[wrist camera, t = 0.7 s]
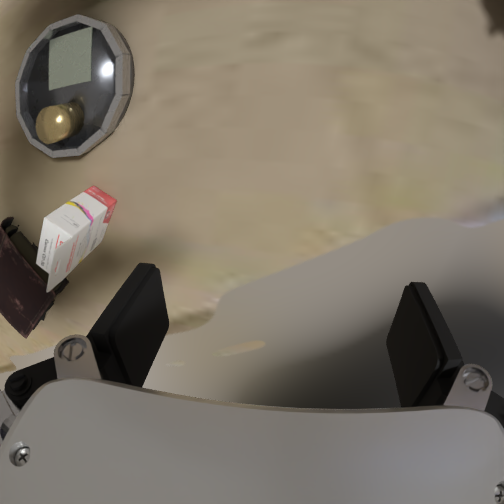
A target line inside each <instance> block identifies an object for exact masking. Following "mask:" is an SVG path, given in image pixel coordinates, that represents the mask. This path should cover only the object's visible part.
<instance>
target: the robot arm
mask: <svg viewBox="0 0 504 504" xmlns="http://www.w3.org/2000/svg"><path fill="white" fill-rule="evenodd" d="M168 328H169V319H168V314H167V308H166V303H165V298H164V292H163V287H162V281H161V275H160V270H159V269H158V268H156V267H155V265H154V264H148V263H139V264H138V265H137V267H136V268H135V269H134V271H133V272H132V273H131V274H130V276H129V277H128V278H127V280H126V281H125V282H124V284H123V285H122V287H121V288H120V289H119V291H118V292H117V293H116V295H115V296H114V297H113V299H112V300H111V302H110V303H109V304H108V306H107V307H106V309H105V310H104V311H103V313H102V314H101V316H100V317H99V319H98V320H97V321H96V323H95V324H94V326H93V327H92V329H91V330H90V332H89V333H88V335H87V336H86V337H85V336H82V335H70V336H68V337H65V338H64V339H62V340H61V341H59V343H58V344H57V345H56V347H55V349H54V357H53V358H50V359H47V360H45V361H42V362H40V363H37V364H34V365H31V366H29V367H26V368H24V369H21V370H18V371H16V372H14V373H13V374H12V375H10V376H9V378H8V379H7V381H6V383H5V390H4V391H1V390H0V504H504V398H502V397H501V396H499V395H498V394H496V393H494V392H493V391H491V389H492V379H491V377H490V375H489V373H488V372H487V371H486V370H485V369H484V368H482V367H481V366H478V365H476V364H467V365H464V363H463V361H462V356H461V354H460V352H459V350H458V347H457V345H456V343H455V341H454V339H453V336H452V334H451V333H450V330H449V328H448V326H447V324H446V322H445V320H444V318H443V316H442V314H441V312H440V310H439V308H438V306H437V304H436V302H435V300H434V298H433V296H432V294H431V293H430V291H429V289H428V287H427V285H426V284H425V283H423V282H411V283H410V284H409V286H405V288H404V291H403V294H402V297H401V300H400V303H399V306H398V309H397V312H396V314H395V317H394V320H393V323H392V326H391V328H390V331H389V333H388V336H387V341H386V343H387V344H386V345H387V349H388V353H389V356H390V361H391V364H392V369H393V373H394V377H395V381H396V386H397V390H398V394H399V399H400V403H401V408H381V409H307V408H286V407H273V406H260V405H249V404H241V403H232V402H223V401H216V400H209V399H202V398H196V397H190V396H184V395H178V394H172V393H167V392H162V391H157V390H151V389H146V388H142V386H143V384H144V382H145V379H146V377H147V375H148V372H149V370H150V368H151V366H152V363H153V361H154V359H155V357H156V355H157V352H158V350H159V348H160V346H161V343H162V341H163V339H164V337H165V335H166V333H167V331H168Z"/></svg>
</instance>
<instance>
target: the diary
mask: <svg viewBox="0 0 504 504" xmlns="http://www.w3.org/2000/svg"><path fill="white" fill-rule="evenodd" d="M12 221H13V217H8V218H6V219H4V220H3V221H2V223H1V225H0V313H1V314H2V315H3V316H4V317H5V319H6V320H7V321H8V322H9V323H10V324H11V325H12V326H13V327H14V328H15V329H16V330H17V331H18V332H19V333H20V334H21V335H22V336H23V337H25V338H27V337H28V335H29V334H30V332H31V331H32V329H33V330H34V329H35V327H36V326H37V325H38V323H39V322H40V320H43V321H44V317H45V314H46V312H47V311H48V310H49V309H50V308H51V307H52V305H53V304H54V303H53V302H54V301H55V300H53V299H54V298H55V296H56V295H57V294H58V293H60V292H61V291H62V290H63V289H64V288H65V286H66V285H67V284H68V283H69V281H68V280H67V279H66V278H64V279H63V280H62V281H61V282H60V283H58V284H57V285H56V286H55V287H54V288H53V289H52V290H50V291H49V292H46V290H47V285H48V278H49V273H47V272H46V271H45V270H43V269H42V268H41V267H40V266H38V265H37V264H36V260H37V254H38V247H37V246H36V245H35V244H34V243H33V245H31V243H30V242H29V241H28V240H27V239H26V237H25V236H24V235H23V234H22V233H21V231H20V232H17V229H18V227H16V226H10V225H11V223H12ZM18 226H19V225H18ZM16 232H17V233H16ZM52 300H53V301H52Z"/></svg>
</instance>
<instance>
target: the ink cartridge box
mask: <svg viewBox="0 0 504 504" xmlns="http://www.w3.org/2000/svg"><path fill="white" fill-rule="evenodd" d="M116 202H117V200H115V199H114V198H112V197H111V196H109V195H107V194H106V193H104V192H103V191H101V190H100V189H98V188H97V187H95V186H92V187H90V188H89V189H87V190H85V191H84V192H82V193H81V194H79V195H78V196H76V197H74V198H73V199H71V200H70V201H68V202H67V203H65V204H64V205H62V206H61V207H59V208H58V209H56V210H55V211H53V212H52V213H50V214H49V215H47V216H46V217H44V221H43V226H42V231H41V236H40V242H39V248H38V254H37V260H36V264H37V265H38V266H40V267H41V268H42V269H43V270H45V271H46V272H47V273H49V278H48V285H47V290H46V292H49V291H50V290H52V289H53V288H54V287H55V286H56V285H57V284H58V283H60V282H61V281H62V280H63V279H64V278H65V277H66V276H67V275H68V274H69V273H70V272H71V271H72V270H73V269H74V268H75V267H76V266H77V265H78V264H79V263H80V262H81V261H82V260H83V259H84V258H85V257H86V256H87V255H88V254H89V253H90V252H91V251H93V250H94V249H95V248H96V247H97V246H98V245H99V244H100V243H101V242H102V239H103V237H104V234H105V231H106V228H107V226H108V223H109V220H110V218H111V215H112V212H113V210H114V207H115V204H116Z"/></svg>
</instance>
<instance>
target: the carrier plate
mask: <svg viewBox="0 0 504 504" xmlns="http://www.w3.org/2000/svg"><path fill="white" fill-rule="evenodd" d="M134 75H135V74H134V62H133V56H132V53H131V50H130V47H129V45H128V43H127V41H126V39H125V38H124V36H123V35H122V34H121V33H120V32H119V31H118V30H117V29H116V28H115V27H114V26H113V25H111V24H108V23H106V22H104V21H100V20H97V19H94V18H91V17H88V16H84V15H79V14H77V15H74V16H71V17H69V18H66V19H63V20H60V21H58V22H55V23H53V24H50V25H49V26H48V27H47V28H46V29H45V30H44V31H43V32H42V33H41V34H40V35H39V36H38V38H37V39H36V40H35V41H34V42H33V43H32V44H31V46H30V47H29V48H28V49H27V51H26V53H25V56H24V59H23V61H22V64H21V67H20V70H19V73H18V76H17V79H16V82H15V94H16V115H17V118H18V120H19V122H20V124H21V127H22V129H23V131H24V133H25V135H26V137H27V139H28V141H29V143H30V144H32V145H33V146H35V147H36V148H38V149H39V150H41V151H42V152H44V153H45V154H47V155H49V156H50V157H52V158H56V157H67V156H79V155H82V154H84V153H86V152H88V151H90V150H91V149H92V148H93V147H94V146H96V145H98V144H100V143H101V142H103V141H104V140H105V139H106V138H107V137H109V136H110V135H111V134H112V132H113V131H114V130H115V129H116V128H117V126H118V125H119V123H120V122H121V120H122V119H123V117H124V115H125V113H126V111H127V108H128V106H129V103H130V100H131V96H132V92H133V86H134Z"/></svg>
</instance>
